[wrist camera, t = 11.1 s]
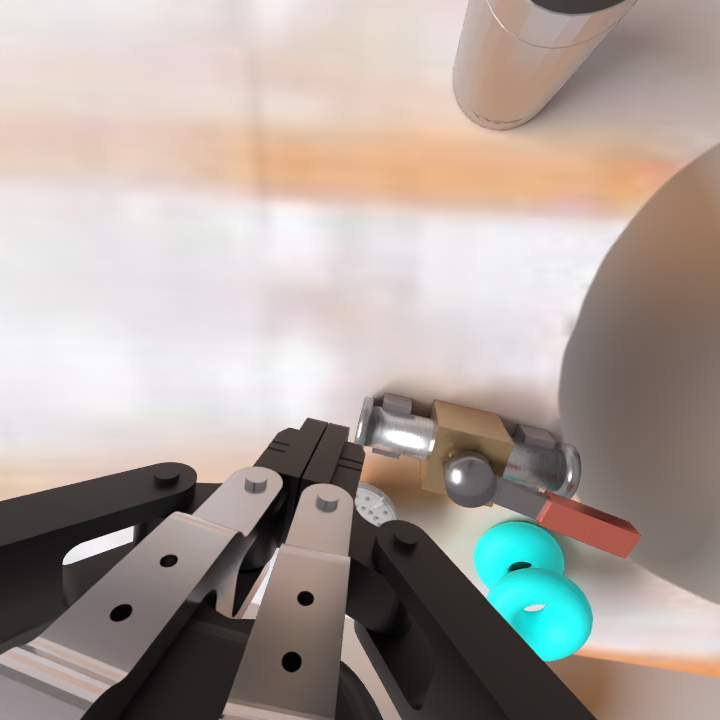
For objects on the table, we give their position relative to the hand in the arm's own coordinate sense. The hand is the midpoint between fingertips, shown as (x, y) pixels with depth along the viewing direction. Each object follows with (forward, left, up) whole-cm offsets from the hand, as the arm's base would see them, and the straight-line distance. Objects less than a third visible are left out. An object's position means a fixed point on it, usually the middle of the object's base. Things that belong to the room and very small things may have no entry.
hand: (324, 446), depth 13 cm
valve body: (+11, +11, -29) cm, 33 cm away
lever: (+12, +17, -21) cm, 30 cm away
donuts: (+24, +22, -29) cm, 44 cm away
